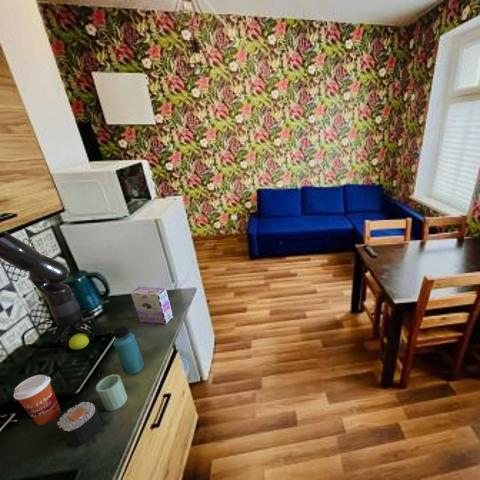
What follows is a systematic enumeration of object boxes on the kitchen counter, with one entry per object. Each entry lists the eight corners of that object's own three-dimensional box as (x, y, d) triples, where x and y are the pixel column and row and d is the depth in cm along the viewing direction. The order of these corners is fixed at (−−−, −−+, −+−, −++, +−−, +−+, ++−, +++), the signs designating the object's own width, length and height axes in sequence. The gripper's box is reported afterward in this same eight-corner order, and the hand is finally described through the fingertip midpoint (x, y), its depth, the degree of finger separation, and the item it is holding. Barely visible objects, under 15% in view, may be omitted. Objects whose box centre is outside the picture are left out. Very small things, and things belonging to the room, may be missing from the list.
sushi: (91, 413, 85) (83, 396, 81) (108, 424, 82) (100, 406, 78) (60, 438, 78) (50, 420, 75) (78, 451, 75) (68, 433, 72)
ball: (68, 354, 106) (62, 342, 103) (76, 343, 112) (71, 331, 109) (87, 351, 108) (81, 339, 105) (94, 340, 113) (89, 328, 111)
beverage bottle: (149, 365, 102) (136, 323, 94) (135, 380, 96) (120, 337, 88) (134, 362, 103) (120, 321, 95) (120, 377, 97) (103, 334, 89)
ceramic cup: (101, 413, 85) (92, 393, 81) (109, 395, 90) (101, 376, 87) (123, 408, 86) (115, 388, 83) (130, 391, 92) (123, 372, 88)
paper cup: (32, 434, 79) (11, 401, 73) (30, 416, 83) (11, 384, 78) (67, 414, 84) (50, 383, 79) (63, 399, 89) (47, 368, 83)
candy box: (174, 317, 128) (166, 288, 121) (166, 325, 122) (158, 295, 116) (147, 314, 129) (139, 285, 123) (138, 322, 124) (129, 292, 117)
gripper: (90, 299, 109) (102, 330, 115) (41, 312, 101) (57, 345, 108) (88, 308, 103) (102, 341, 110) (37, 322, 96) (55, 357, 102)
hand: (80, 343), depth 109 cm, fingers open, 7 cm apart
